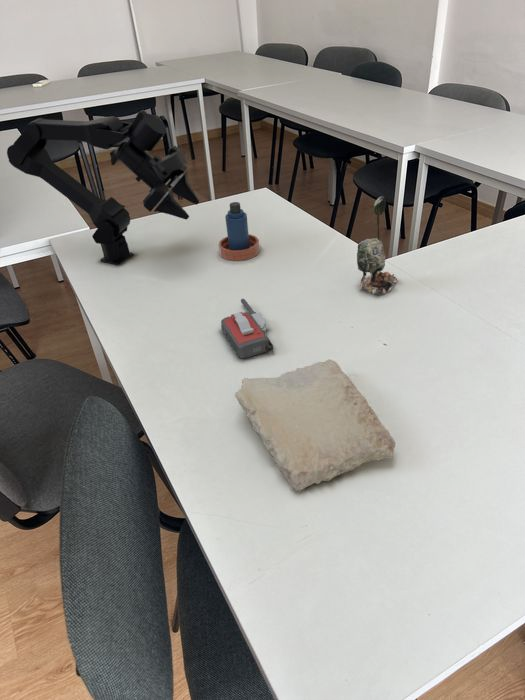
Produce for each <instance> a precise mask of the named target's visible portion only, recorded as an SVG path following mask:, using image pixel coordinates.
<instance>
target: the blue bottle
mask: <svg viewBox="0 0 525 700" xmlns="http://www.w3.org/2000/svg"><path fill="white" fill-rule="evenodd" d="M248 225H249V223H248V214H247V212H245V211H244V210H243V209H241V203H240V202H238V201H233V202H230V203H229V210H228V211H227V213H226V214H225V226H226V235H227V236H228V244H229V250H244V249H248V248H250V245H249V234H250V233H249V226H248Z"/></svg>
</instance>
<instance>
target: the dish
mask: <svg viewBox="0 0 525 700" xmlns="http://www.w3.org/2000/svg"><path fill="white" fill-rule="evenodd" d="M248 234H249V245H250V248H248V249H244V250H229V244H228V235H227V236H225V237H223V238H222V239H221V240H220V241H219V242H218V251H219V256H220V257H221V258H222V259H224V260H226V261H232V262H241V261H247V260H251V259H253V258H255V257H256V256H258V255H259V253H260V252H261V251H260V250H261V247H260V239H259V237H257V236H256V235H253V234H250V233H248Z"/></svg>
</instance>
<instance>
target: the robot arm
mask: <svg viewBox="0 0 525 700" xmlns="http://www.w3.org/2000/svg"><path fill="white" fill-rule="evenodd" d="M166 133H167V126H166V125H165V123H164V122H163V120H161V118H159V117H157V116H155V115H154V114H151V113H148V112H147V111H146V110H144V109H142V110H140V111H138V113H137V114H136V115H135V119H134V120H133V122H127V121H121V120H120V117H117V116H114V115H111V116H105V117H99V118H96V119H92V120H91V119H90V120H84V121H83V120H66V119H65V120H63V119H62V120H61V119H46V118H43V117H40V118H37V119H34V120H32V121H30V122H29V123H27V125H26V127H25V128H24V130H23V132H22V133H21V134H20V135H19V136H18V138H17V139H16V140H15V141H14V142H13V144H11V145H9V146H7V147H8V148H6V149H7V150H6V156H7V159H8V162H9V164H10V165H11V166H12V167H14V168H15V169H17V170H19V171H20V172H22V173H24V174H25V175H30V176H33V177H38V178H40V179H42V180H43V181H44V182H45V183H47V184H48V185H49V186H51V187H52V188H53V189H55V190H56V191H57V192H59V194H61V195H63V196H64V197H65V198H66V199H68V200H69V201H71V202H72V203H73V204H75V206H77V207H79V209H81V210H83V212H85V213H87V214H88V216H89V218H90V220H91V222H92V224H93V226H95V227H96V230H95V231H94V233H93V234H92V235H91V237H92V239H93V241H94V243H95V244H99V245H100V246H101V250H102V254H103V257H101V258H100V262H101V263H107V264H111V265H116V266H121V264H123V263H124V262H126V261H128V260H129V259H130V258H132V257H134V255H135V254H134V253H133V252H130V249H129V244H128V242H127V240H126V236H125V235H124V234H125V232H127V231H128V227H129V225H130V224H131V216H130V212H129V211H128V210H127V209H126V208H125V207H126V206H125V205H124V204H122V203H120V202H119V201H117V199H115V198H114V197H112V196H110V197H109V198H108V199H103V198H101V197H99V196H98V195H96V194H95V193H94V192H93V191H91V190H90V189H89V188H87V187H86V186H84V185H83V184H82V183H81V182H80V181H78V180H77V179H76V178H74V177H73V176H72V175H70V174H69V173H68V172H66V171H65V170H64V169H62V168H61V167H60V166H58V165H57V164H56V163H55V162H53V160H52V157H51V156H50V154H49V152H48V151H47V149H46V147H47V144H48V140H50V141H67V142H68V141H69V142H82V143H86V144H88V145H90V146H91V147H93V148H94V147H95V148H98V149H103V150H110V149H112V148H113V147H115V146H116V145H118V144H119V146H118V147H117V149H113V150H111V151H110V152H109V156H110V163H111V166H115V165H116V164H117V163H118V162H119V161H120V162H121V163H122V164H123V165H124V166H125V167H126V168H127V169H128V170H129V171H130V172H132V173H133V174H134V175H135V176H136V177H135V180H136V181H137V182H138V183H140V182H141V181H142V183H144V184H145V185H146V186H147V187H148V188H149V189H150V190H149V191H148V192H149V193H148V194H147V196H146V197H145V198H144V199H143V200H142V203H143V207H144V208H145V209H146V210H147V211H148V212H150V213H151V212H152V211H153V212H154V213H157V212H158V213H161V214H165V215H170V216H174V217H176V218H179V219H182V220H185V221H187V220H188V219H189V218H190V215H189V214H188V212H187V211H186V210H185V209H184V208H183V206H181V205H180V203H178V202H177V200H176V199H175V198H174V195H177V196H179V197H180V198H183V199H185V201H188V202H190V203H191V204H194V205H198V204H199V203H200V200H199V198H198V197H197V195H196V193H195V192H194V190H193V189H192V186H191V185H190V183H189V181H188V173H189V172H188V171H186V170H187V169H188V167H187V166H186V165H185V164H187V162H188V161H187V159H186V157H185V154H186V153H185V151H184V150H182V149H181V148H179V147H177V146H176V145H173V146H171V147H170V148H169V149H167V152H168V153H167V155H165V156H164V157H163V158H161V157H160V156H159V155H154V156H152V155H151V154H150V153H149V152H151V151H153V150H154V149H155V148H156V146H157V145H158V143H160V141H161V139H163V137H164V136H165V135H166ZM127 138H129V139H128V140H127V141H124V140H126V139H127Z"/></svg>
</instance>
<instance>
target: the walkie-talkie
mask: <svg viewBox="0 0 525 700" xmlns="http://www.w3.org/2000/svg"><path fill="white" fill-rule="evenodd" d="M240 303H241V304H242V306H243V307H244V308H245V310H246V311H247V312H246V311H244V312H243V311H238V312H235V313H232V314H230V316H227V317H224V318H222V319H221V320H220V326H221V331H222V333H223V335H224V336H225V338H226V339H227V341H228V342H229V344H230V345H231V347H232V349H233V350H234V351H235V353H236V355H237V357H238V358H240V359H246V358H250V357H253V356H256V355H261V354H264V353H267V352H270V351H273V350H274V344H273V343H272V341H271V340H270V338H269V337H268V335H267V333H266V331H267V321H266V319H265V318H264V317H263V315H262V314H261V312H260V311H258V312H256V311H255V310H254V309H253V308H252V306H250V304H249V303H248V301H247V300H246V299H245V298H241V299H240Z"/></svg>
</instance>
